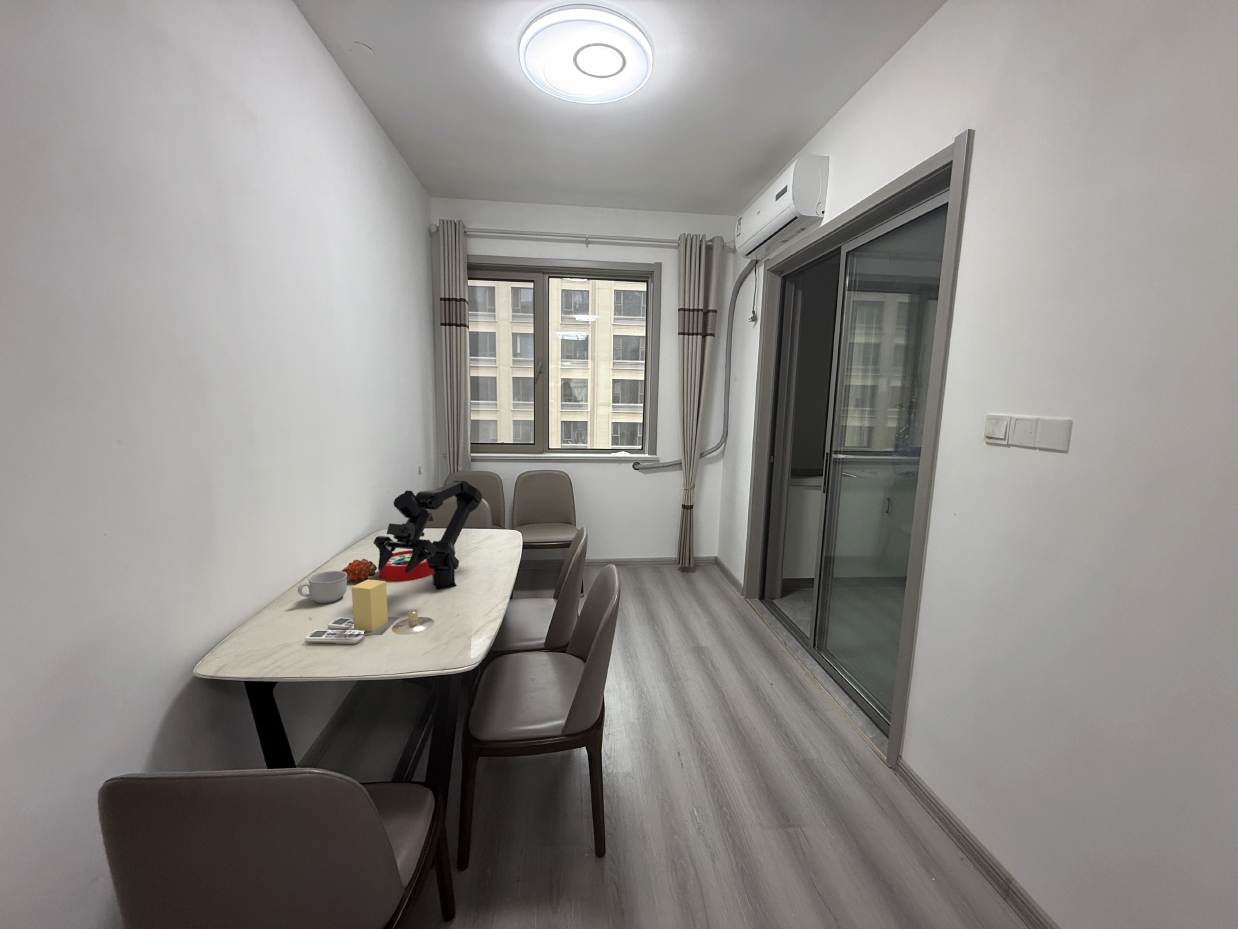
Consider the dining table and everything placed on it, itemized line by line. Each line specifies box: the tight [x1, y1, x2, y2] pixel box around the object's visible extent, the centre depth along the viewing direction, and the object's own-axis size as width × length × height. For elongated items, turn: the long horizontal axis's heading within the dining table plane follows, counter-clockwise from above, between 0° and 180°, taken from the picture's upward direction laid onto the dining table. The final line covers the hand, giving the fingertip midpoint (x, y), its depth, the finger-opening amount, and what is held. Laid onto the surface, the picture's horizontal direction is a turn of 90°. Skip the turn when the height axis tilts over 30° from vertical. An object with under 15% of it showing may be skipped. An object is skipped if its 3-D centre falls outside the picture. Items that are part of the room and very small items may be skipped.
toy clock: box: [378, 549, 434, 583], centre depth 181 cm, size 20×6×20 cm
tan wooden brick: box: [351, 579, 389, 632], centre depth 133 cm, size 6×6×12 cm
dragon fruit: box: [341, 558, 378, 584], centre depth 171 cm, size 8×8×12 cm
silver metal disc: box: [391, 609, 435, 636], centre depth 134 cm, size 11×11×4 cm
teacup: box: [297, 570, 348, 604], centre depth 153 cm, size 14×11×8 cm
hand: (392, 571), depth 142 cm, fingers open, 9 cm apart
